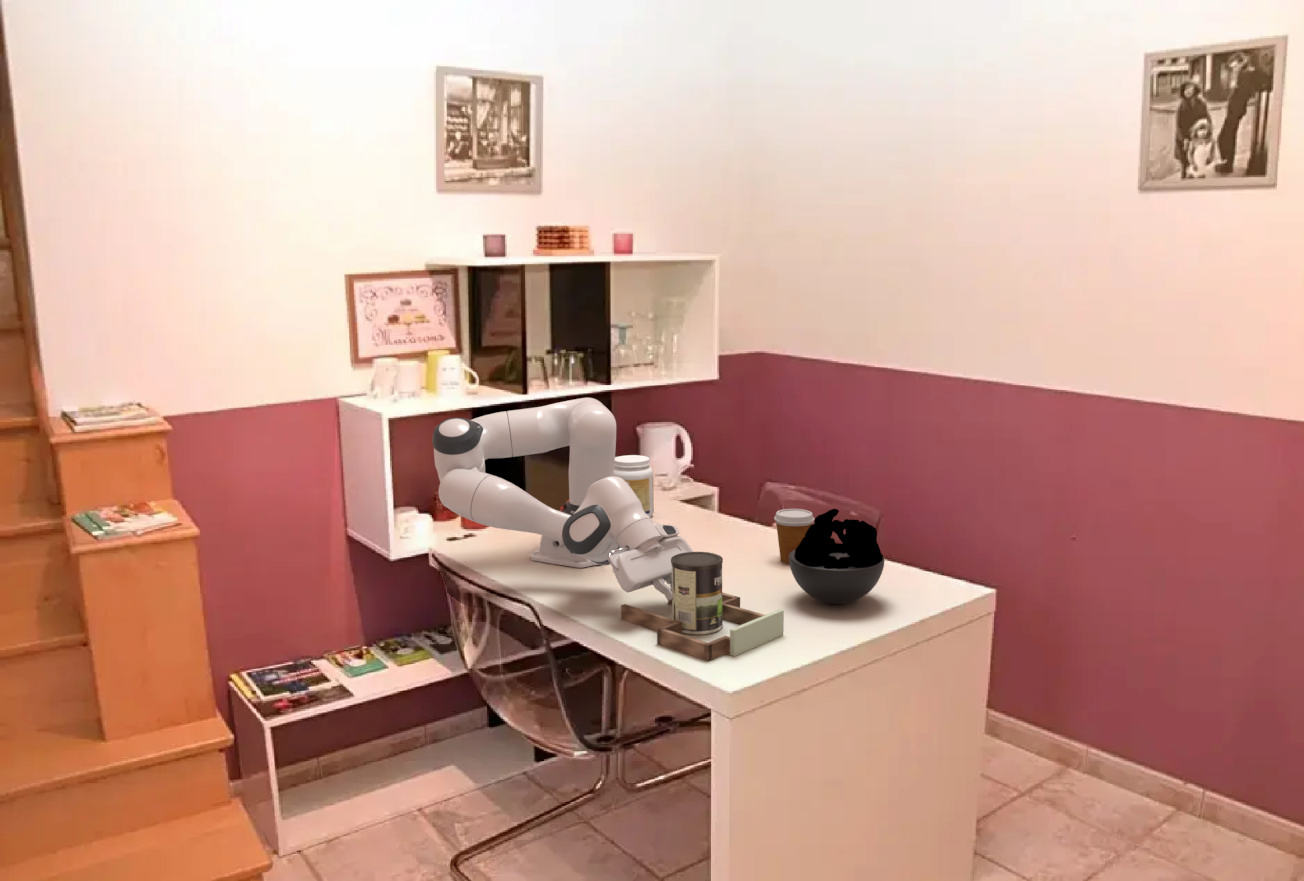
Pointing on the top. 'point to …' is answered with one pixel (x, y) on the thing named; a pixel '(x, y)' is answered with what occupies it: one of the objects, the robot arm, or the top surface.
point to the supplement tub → (637, 478)
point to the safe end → (756, 632)
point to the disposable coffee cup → (791, 529)
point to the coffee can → (697, 592)
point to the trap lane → (673, 638)
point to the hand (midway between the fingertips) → (675, 597)
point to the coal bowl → (837, 560)
